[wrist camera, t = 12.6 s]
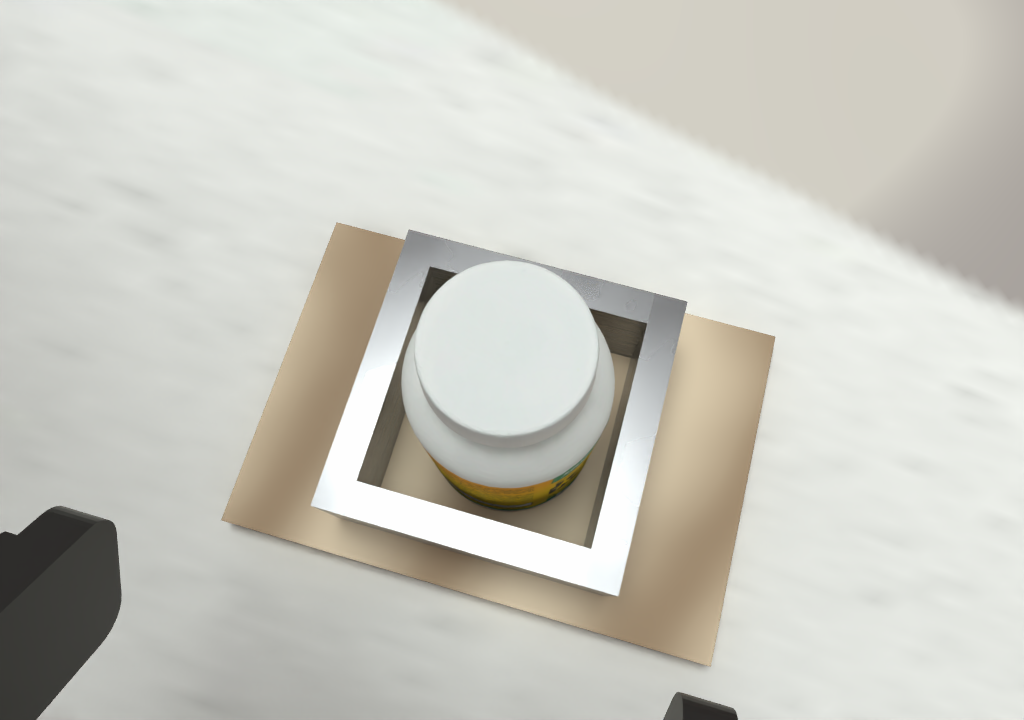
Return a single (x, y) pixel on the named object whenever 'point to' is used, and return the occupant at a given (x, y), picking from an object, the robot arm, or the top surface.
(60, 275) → the top surface
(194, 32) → the top surface
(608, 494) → the metal sleeve
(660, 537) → the birch board
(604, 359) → the supplement bottle
